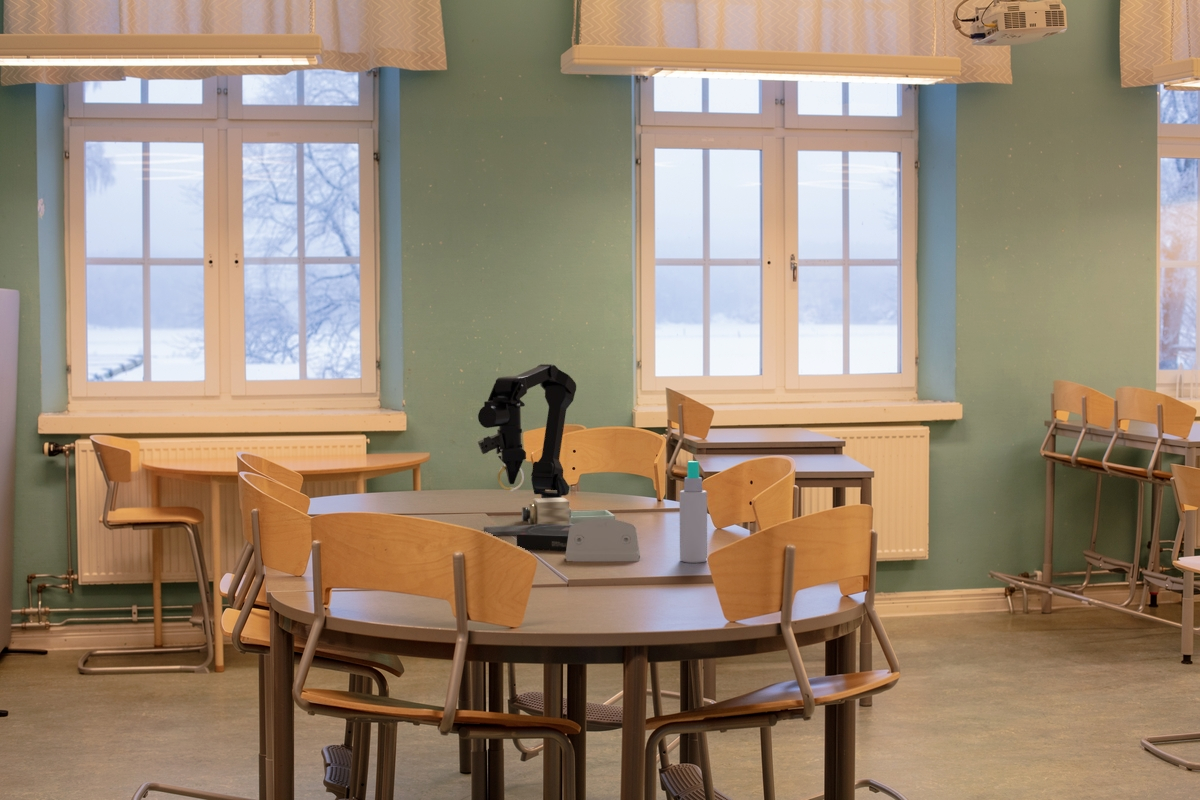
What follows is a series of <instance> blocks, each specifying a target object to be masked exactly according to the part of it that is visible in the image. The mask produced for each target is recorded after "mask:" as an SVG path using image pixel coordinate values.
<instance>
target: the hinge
mask: <svg viewBox="0 0 1200 800" xmlns="http://www.w3.org/2000/svg"><path fill="white" fill-rule="evenodd" d="M640 551H641V550H640V546H639V538H638V532H637V527H636V526H635V524H632V523H630V522H627V521H624V520H620V519H619V520H618V519H615V520H613V519H592V520H587V521H583V522H579V523H576V524H573V525H572V526H571V527H570V528H569V534H568V541H567V548H566V551H565V555H564V556H565V562H566V561H573V562H639V561H640V558H641V552H640ZM639 557H640V558H639Z"/></svg>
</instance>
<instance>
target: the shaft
mask: <svg viewBox="0 0 1200 800" xmlns="http://www.w3.org/2000/svg"><path fill="white" fill-rule="evenodd" d="M571 511H572V508H571V507H569V518H570V517H571ZM536 519H537V509H536V506H535V504H534V503H528V506H525V507H521V520H522V522H528V524H529V525H534V524H536Z"/></svg>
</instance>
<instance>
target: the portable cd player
mask: <svg viewBox="0 0 1200 800" xmlns="http://www.w3.org/2000/svg"><path fill="white" fill-rule="evenodd" d="M571 526H572V525H553V524H538V525H536V526H533V527H531V528H529V529H527V530H525V531H523V532H521V533H519V534H517V535H516V547H517V546H520V547H522V548H525V549H527V551H543V552H544V551H548V552H566V548H567V541H568V534H569V528H570V527H571Z"/></svg>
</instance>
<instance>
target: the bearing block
mask: <svg viewBox="0 0 1200 800" xmlns="http://www.w3.org/2000/svg"><path fill="white" fill-rule="evenodd" d="M533 504H535V506H536V509H537V519H536V524H529V525H528V524H526V525H525V524H524V525H500V526H499V525H498V526H483V531H486V532H488V533H491V534H493V535H496V536H495V537H499V536H498V535H501V536H500V537H502V536H503V537H504V536H505V537H506V536H517V534H519V533H521V532H523V531H525V530H527V529H529V528H531V527H533V526H536V525H538V524H553V525H573V524H576V523H573V524H569V508H570V501H569V500H568V499H566V498H565V497H562V498H541V497H540V498H538V497H537V498H535V497H534V498H533Z"/></svg>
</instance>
